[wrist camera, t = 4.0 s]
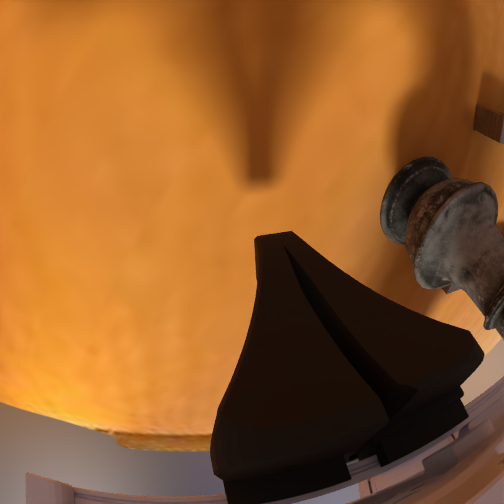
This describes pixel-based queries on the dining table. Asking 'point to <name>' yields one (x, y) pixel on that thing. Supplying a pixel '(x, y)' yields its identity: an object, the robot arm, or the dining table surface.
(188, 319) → the dining table surface
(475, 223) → the weathered grey candle holder
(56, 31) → the dining table surface
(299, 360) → the robot arm
